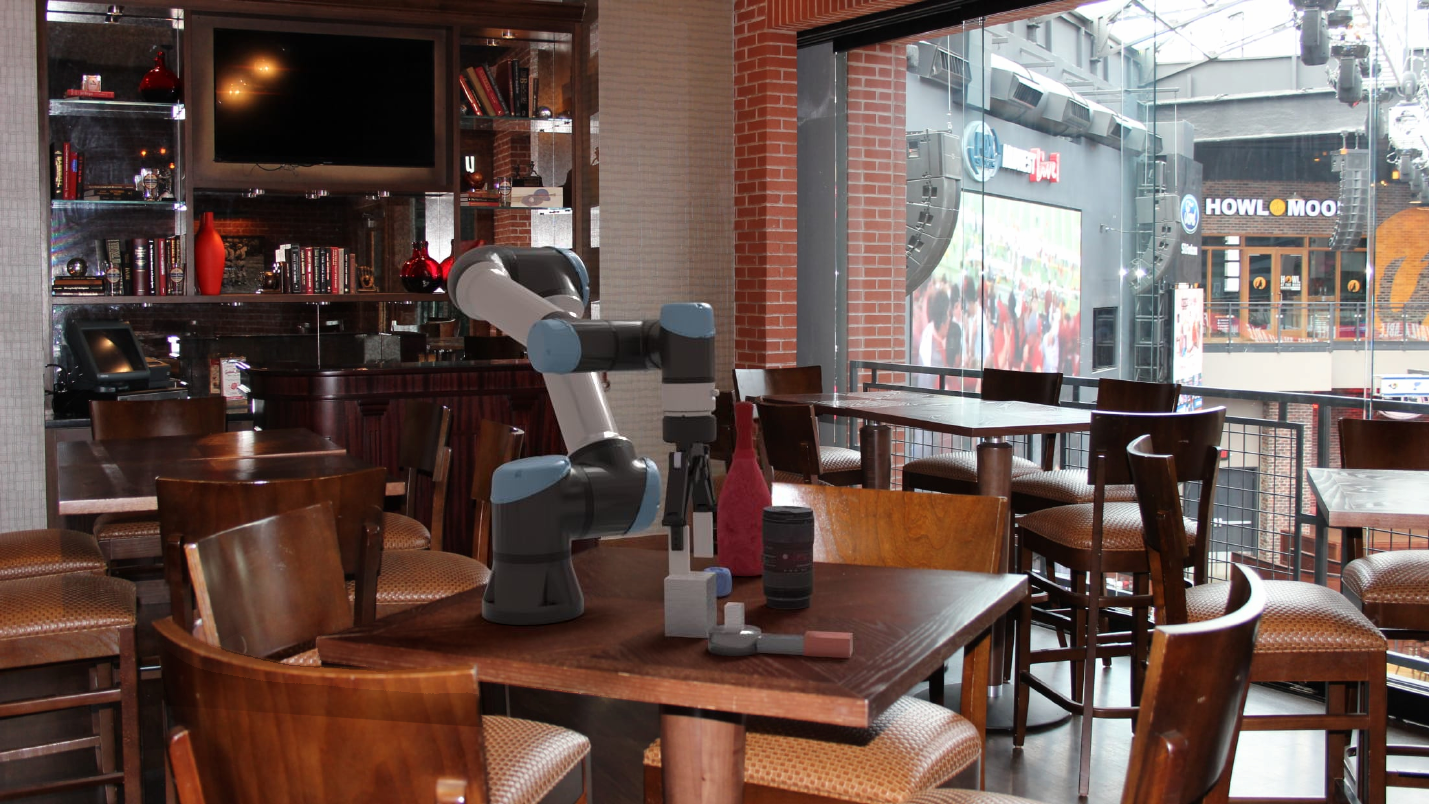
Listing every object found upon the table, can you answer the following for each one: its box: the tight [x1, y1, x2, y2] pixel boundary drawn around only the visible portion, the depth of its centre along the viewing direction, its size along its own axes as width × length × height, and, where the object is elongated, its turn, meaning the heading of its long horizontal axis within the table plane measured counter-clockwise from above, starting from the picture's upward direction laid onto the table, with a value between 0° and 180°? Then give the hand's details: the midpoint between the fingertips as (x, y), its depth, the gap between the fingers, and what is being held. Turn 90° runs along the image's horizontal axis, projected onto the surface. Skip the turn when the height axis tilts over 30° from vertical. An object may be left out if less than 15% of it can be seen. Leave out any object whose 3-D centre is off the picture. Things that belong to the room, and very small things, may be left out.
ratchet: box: [707, 601, 854, 659], centre depth 162 cm, size 19×7×6 cm, turn 77°
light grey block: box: [663, 570, 718, 639], centre depth 172 cm, size 6×6×8 cm
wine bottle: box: [716, 400, 773, 577], centre depth 214 cm, size 10×10×30 cm
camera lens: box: [761, 505, 816, 610], centre depth 189 cm, size 8×8×15 cm
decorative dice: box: [702, 566, 733, 597], centre depth 197 cm, size 4×4×4 cm
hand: (692, 565), depth 172 cm, fingers open, 13 cm apart
